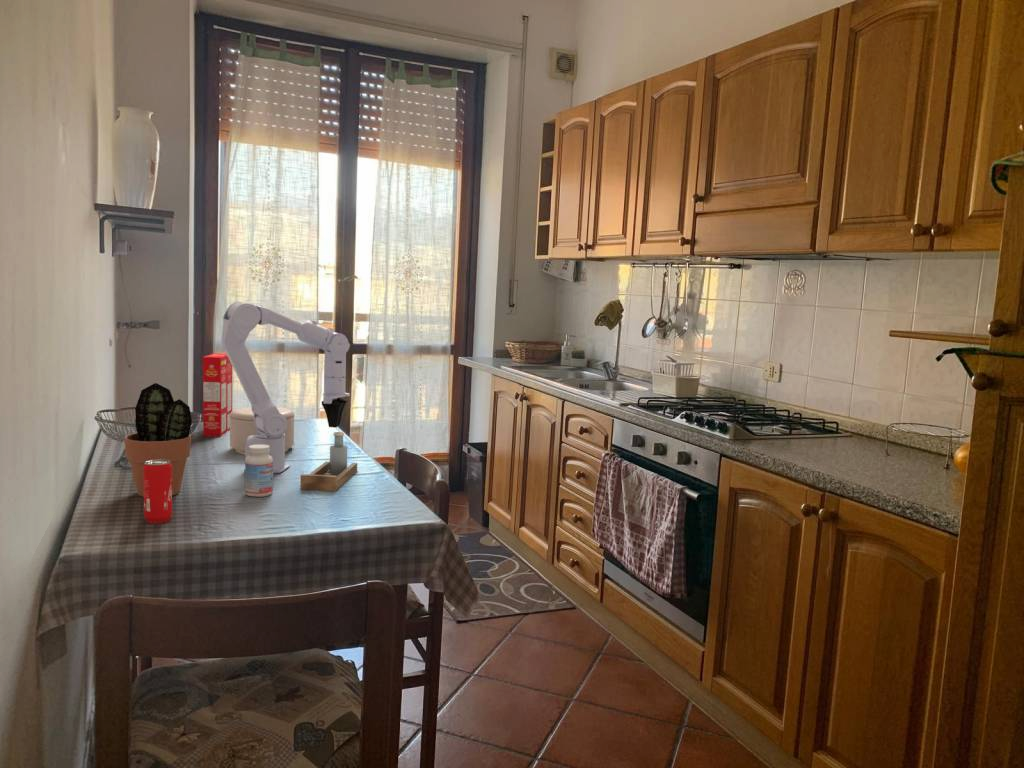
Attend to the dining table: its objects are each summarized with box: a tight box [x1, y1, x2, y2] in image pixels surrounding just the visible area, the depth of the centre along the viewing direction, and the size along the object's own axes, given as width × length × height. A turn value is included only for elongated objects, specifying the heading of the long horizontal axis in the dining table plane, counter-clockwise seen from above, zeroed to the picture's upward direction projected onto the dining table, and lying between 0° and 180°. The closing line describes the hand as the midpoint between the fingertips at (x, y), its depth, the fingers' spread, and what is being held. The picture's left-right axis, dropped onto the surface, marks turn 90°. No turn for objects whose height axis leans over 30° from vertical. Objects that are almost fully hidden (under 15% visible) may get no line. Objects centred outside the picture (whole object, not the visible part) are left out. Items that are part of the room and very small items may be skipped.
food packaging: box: [202, 352, 233, 437], centre depth 248 cm, size 15×5×25 cm, turn 6°
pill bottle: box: [244, 445, 274, 498], centre depth 177 cm, size 6×6×11 cm
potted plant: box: [124, 382, 193, 498], centre depth 174 cm, size 14×14×25 cm
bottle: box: [329, 431, 348, 474], centre depth 200 cm, size 4×4×11 cm
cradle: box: [299, 461, 358, 492], centre depth 193 cm, size 8×21×4 cm, turn 178°
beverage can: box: [143, 459, 173, 524], centre depth 154 cm, size 5×5×12 cm
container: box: [229, 406, 295, 455], centre depth 225 cm, size 18×18×12 cm
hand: (334, 426), depth 210 cm, fingers closed
